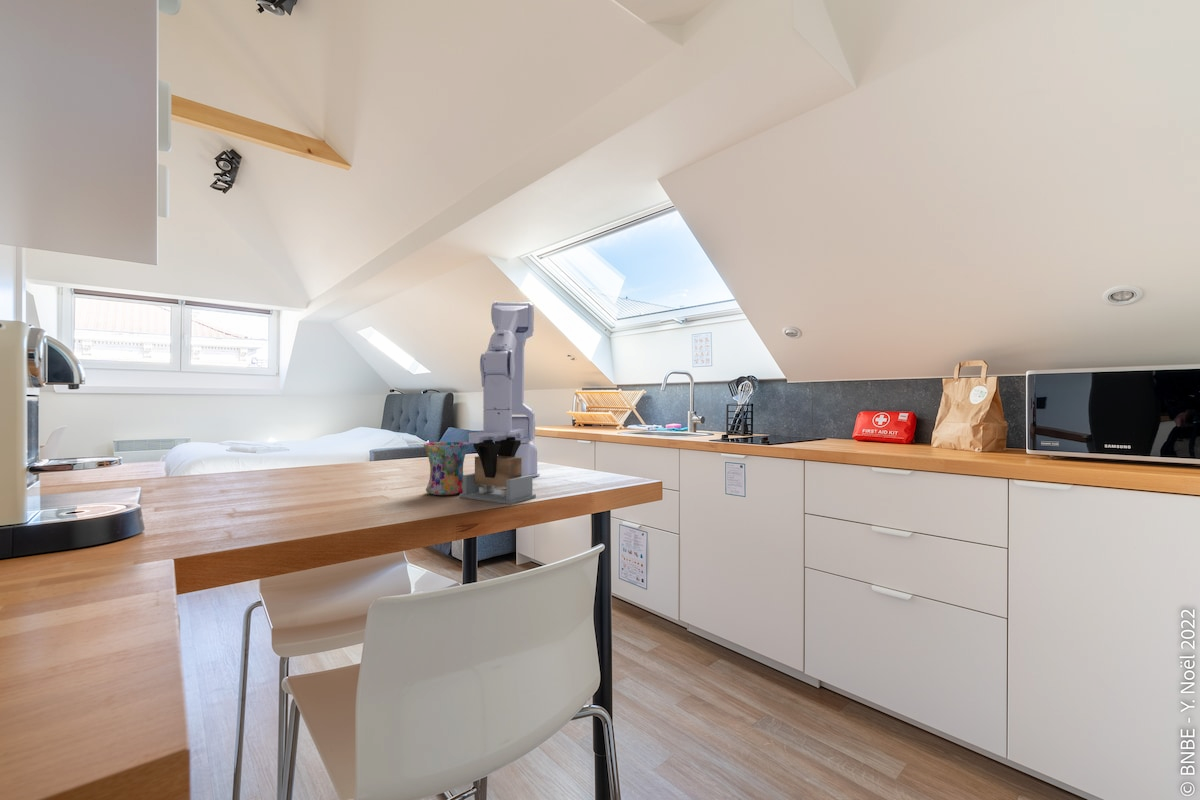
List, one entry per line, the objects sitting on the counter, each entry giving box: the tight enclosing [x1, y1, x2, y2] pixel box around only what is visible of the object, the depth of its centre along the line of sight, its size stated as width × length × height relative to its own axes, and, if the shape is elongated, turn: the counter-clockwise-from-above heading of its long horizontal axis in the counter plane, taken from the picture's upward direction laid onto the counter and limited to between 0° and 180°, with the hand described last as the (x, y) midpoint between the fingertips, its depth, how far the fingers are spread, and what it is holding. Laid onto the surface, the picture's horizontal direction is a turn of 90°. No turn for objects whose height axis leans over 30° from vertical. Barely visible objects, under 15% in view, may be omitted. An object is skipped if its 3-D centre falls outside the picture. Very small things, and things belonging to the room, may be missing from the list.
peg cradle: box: [458, 472, 537, 505], centre depth 106 cm, size 8×14×4 cm, turn 60°
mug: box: [423, 441, 470, 496], centre depth 111 cm, size 12×9×11 cm
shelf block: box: [474, 455, 522, 488], centre depth 106 cm, size 4×9×6 cm, turn 60°
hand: (497, 475), depth 106 cm, fingers closed on shelf block, 4 cm apart
